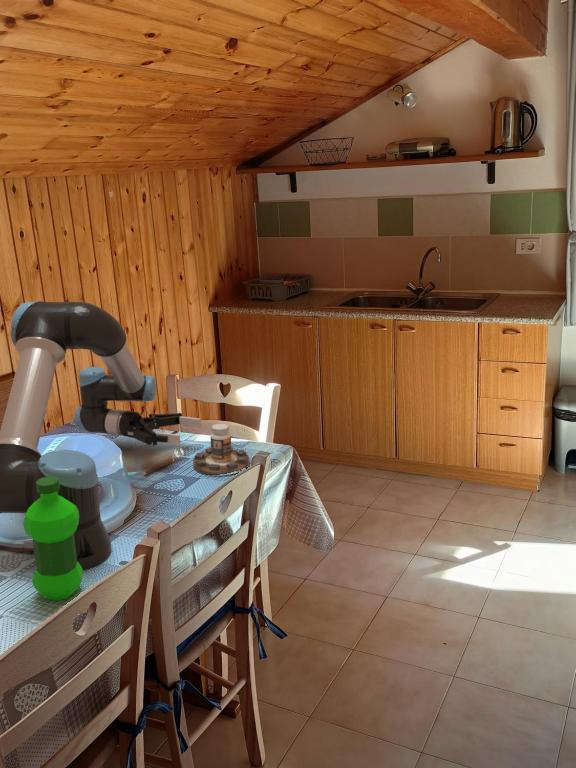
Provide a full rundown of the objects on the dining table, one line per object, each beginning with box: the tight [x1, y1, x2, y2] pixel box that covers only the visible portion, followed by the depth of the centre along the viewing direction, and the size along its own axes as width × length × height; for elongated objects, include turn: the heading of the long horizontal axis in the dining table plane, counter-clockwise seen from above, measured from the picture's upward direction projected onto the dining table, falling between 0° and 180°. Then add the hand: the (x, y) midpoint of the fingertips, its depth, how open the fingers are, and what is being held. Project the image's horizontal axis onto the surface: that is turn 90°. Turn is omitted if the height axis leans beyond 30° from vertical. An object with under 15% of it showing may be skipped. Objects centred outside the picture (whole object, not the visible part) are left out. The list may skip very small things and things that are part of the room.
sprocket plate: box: [192, 446, 251, 476], centre depth 215 cm, size 16×16×2 cm
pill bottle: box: [209, 423, 232, 462], centre depth 213 cm, size 6×6×10 cm
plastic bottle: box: [22, 476, 84, 602], centre depth 150 cm, size 10×10×25 cm
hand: (190, 431), depth 215 cm, fingers open, 13 cm apart
